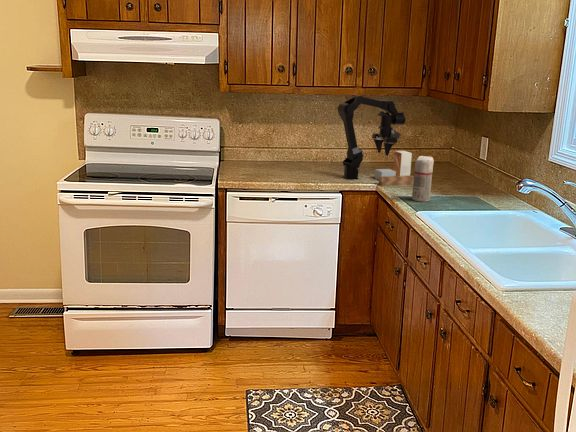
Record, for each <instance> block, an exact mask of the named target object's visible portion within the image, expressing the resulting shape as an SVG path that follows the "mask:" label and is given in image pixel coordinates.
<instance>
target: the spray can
mask: <svg viewBox="0 0 576 432" xmlns="http://www.w3.org/2000/svg"><path fill="white" fill-rule="evenodd" d="M434 162H435V161H434V158H433V156H427V155H426V156H424V155H419V156H418V157H417V158H416V160H415V162H414V170H413V171H414V172H413V176H414V182H413V184H412V185H413V186H412V192H411V193H412V194H411V200H412V201H415V202H422V203H423V202H430V200H431V199H430V198H431V187H432V178H433V172H434V171H433V170H434V169H433V168H434V164H435V163H434Z"/></svg>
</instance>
